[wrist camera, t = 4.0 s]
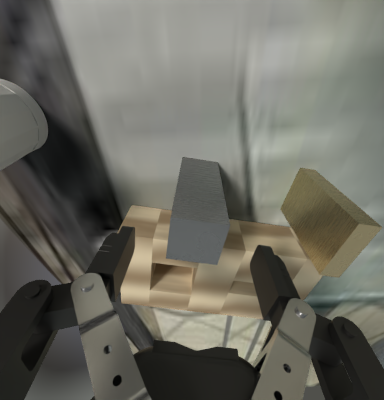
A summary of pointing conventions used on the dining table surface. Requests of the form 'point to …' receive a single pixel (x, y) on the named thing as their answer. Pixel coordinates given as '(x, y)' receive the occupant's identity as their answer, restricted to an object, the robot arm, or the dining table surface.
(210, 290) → the socket block
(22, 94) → the cup
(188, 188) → the square bit
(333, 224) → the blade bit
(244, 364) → the robot arm
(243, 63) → the dining table surface
